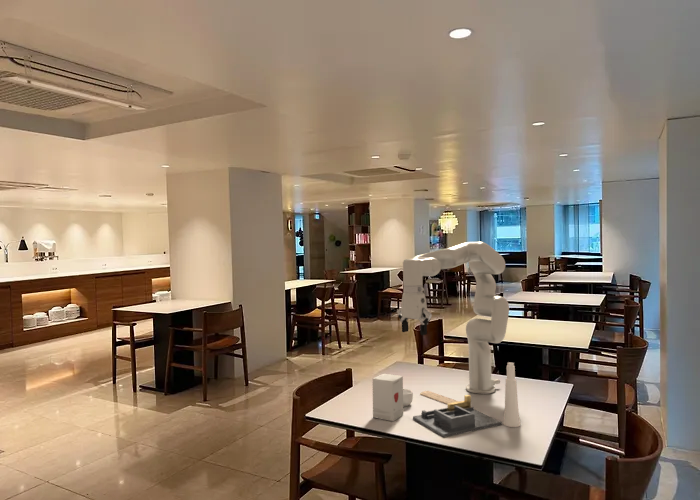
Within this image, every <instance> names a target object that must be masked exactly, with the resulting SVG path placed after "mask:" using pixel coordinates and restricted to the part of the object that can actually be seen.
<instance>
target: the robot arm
mask: <svg viewBox="0 0 700 500" xmlns="http://www.w3.org/2000/svg"><path fill="white" fill-rule="evenodd" d="M467 263H468V267H469V270H470V271H471V273H472V274H473V276H474V278H475V282H476V284H475V285H476V286H475V292H474V298H473V308H472V309H473V313H475V315H478V316H481V317H486V318H490V319H491V320H490V319H485V318H472V319H469V321H467V323H466V325H465V333H466V338H467V345H468V374H469V377H468V378H469V379H468V381H469V384H467V385H465V390H466V391H467V392H470V393H472V394H476V395H477V394H479V395H488V394H493V393H494V392H496V387H495V385H500V384H501V380H500V379H493V378H492V349H491V347H490V344H489V343H492V344H500V343H501V342H503V341H504V340H505V337H506V333H507V327H508V319H509V315H510V305H509V302H508V300H507V299H506V298H505V297H503V296H501V295H496V290H497V289H496V288H497V283H496V280H495V279H494V277H493V275H500V274H502V273H504V271H505V270H506V261H505V259H504V257H503V256H502V255H501V254H500V253H499V252H498V251H496V250H495V249H494V248H493V247H492V246H491V245H489V244H488V243H486V242H484V241H467V242H462V243H459V244H456V245H453V246H450V247H448V248H444V249H443V248H442V249H438V250H435V251H431V252H430V251H429V252H426V253H423V254H419V255H415V256H414V257H412V258H405V259H404V260H403V261H402V275H403V276H402V277H403V278H402V280H403V281H402V283H403V285H402V286H403V287H402V288H403V293H402V297H401V307H400V308H398V309H397V310H396V314H397V315H398V316H397V317H398V318H399V320H400V323H401V332H402V333H407V332H409V321H408V320H409V319H410V320H418V321H419V322H420V325H419V330H420V331H419V332H420V333H419V334H420V336H425V335H426V336H427V334H428V325H429V323H430V321H431V319H432V316H433V313H431V312H430V311H429V310H428V306H427V298H426V294H425V293H424V291H425V288H424V285H423V277H434V276H436V275H438V274H439V273H440V272H441V270H446V269H447V270H448V269H453V268H456V267H458V266H459V267H460V266H461V265H464V264H467Z"/></svg>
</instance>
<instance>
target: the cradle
mask: <svg viewBox="0 0 700 500" xmlns="http://www.w3.org/2000/svg"><path fill="white" fill-rule="evenodd" d="M412 419H413V420H414V421H415V422H417V423H419V424H421V425H422V426H424V427H425V428H428V429H429V430H430V431H432V432H434V433H435V434H437V435H439V436H440V437H442V438H446V437H452V436H455V435H461V434H464V433H471V432H474V431H479V430H484V429H488V428H493V427H497V426H502V425H503V421H501V420H499V419H496V418H494V417H492V416H489V415H488V414H485V413H483V412H481V411H478V410H477V409H475V408H474V406H471V407H468V408H461V407H459V406H457V405H456V406H454V410H453V411H448V407H445V408H438V409H437V408H435V409H433V410H428V411H426V410H425V409H424V410H421V414H419V415H414V416H412Z"/></svg>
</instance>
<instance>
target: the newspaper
mask: <svg viewBox="0 0 700 500" xmlns="http://www.w3.org/2000/svg"><path fill="white" fill-rule="evenodd" d="M419 396H423V397H424V398H425V397H426V398H427V399H430V400H434V401H436V402H439V403H441V404H445V405H447V404H449V403H454V402H460V401H459V400H456V399H453V398H450V397H448V396H444V395H441V394H439V393H436V392H433V391H430V390H424V391H422V392H420V393H419Z"/></svg>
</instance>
